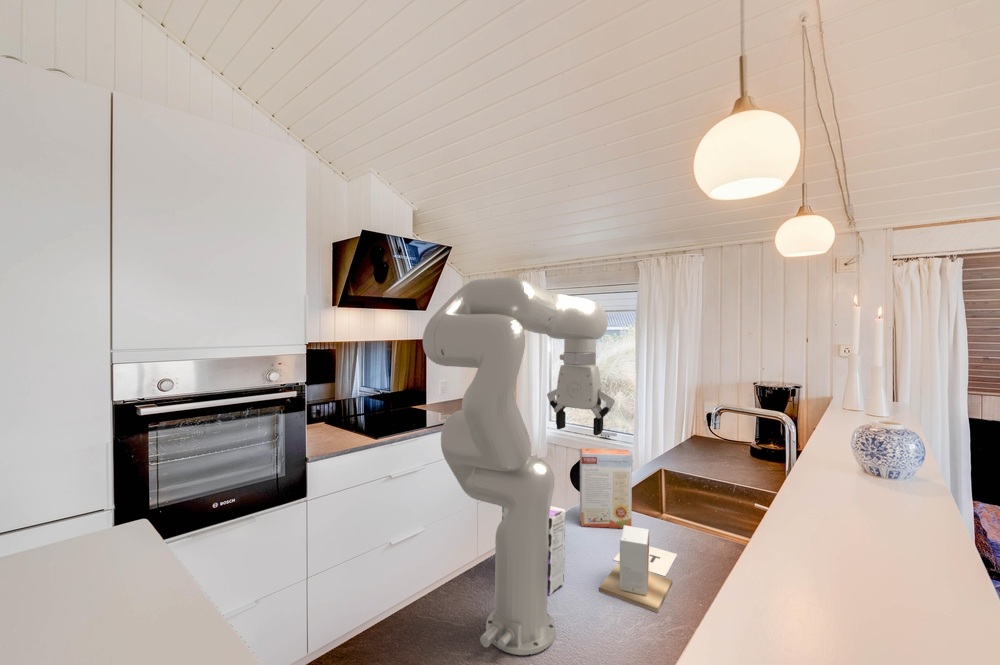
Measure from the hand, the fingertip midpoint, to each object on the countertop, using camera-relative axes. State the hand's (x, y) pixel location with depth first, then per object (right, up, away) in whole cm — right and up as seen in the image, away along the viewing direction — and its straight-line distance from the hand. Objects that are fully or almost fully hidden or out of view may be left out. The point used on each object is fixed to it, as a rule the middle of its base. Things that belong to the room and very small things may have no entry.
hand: (578, 431), depth 103 cm
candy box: (-12, -31, -8) cm, 34 cm away
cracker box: (+11, -31, +20) cm, 39 cm away
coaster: (+10, -31, -11) cm, 34 cm away
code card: (+17, -31, +1) cm, 35 cm away
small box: (+10, -30, -11) cm, 34 cm away
